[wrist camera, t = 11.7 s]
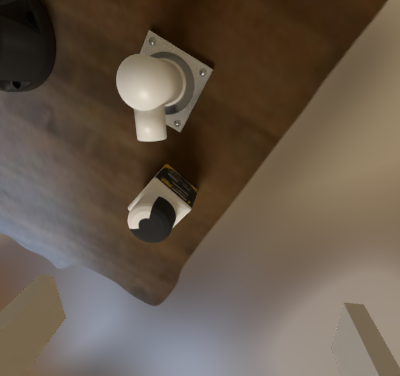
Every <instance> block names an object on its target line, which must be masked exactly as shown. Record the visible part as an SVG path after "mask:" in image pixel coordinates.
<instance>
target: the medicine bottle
mask: <svg viewBox="0 0 400 376" xmlns="http://www.w3.org/2000/svg"><path fill="white" fill-rule="evenodd" d="M197 192H198V191H197V189H196V188H194V187H193V186H192V185H191V184H190V183H189V182H188V181H186V180H185V179H184V178H183V177H182V176H181V175H180V174H178V173H177V172H176V171H175V170H174V169H173V168H172V167H170V166H169V165H168V164H165V165H164V166H163V167H162V169H161V170H160V171H159V172H158V173H157V174H156V175H155V177H154V178H153V179H152V180H151V181H150V182H149V183H148V185H147V186H146V187H145V188H144V189H143V190H142V191H141V193H140V194H139V195H138V196H137V197H136V198H135V199H134V201H133V202H132V203H131V204H130V205H129V206H128V210H129V211H130V212H129V215H128V225H129V228H130V230H131V231H132V233H133V234H134V235H135V236H136V237H137V238H139V239H140V240H142V241H145V242H149V243H157V242H161V241H163V240H165V239H166V238H167V237H168V236H169V234H170V232H171V230H172V228H173V227H174V226H175V225H176V224H177V223H178V222H179V221H180V220H181V219H182V218H183V217H184V216H185V215H186V214H187V213H188V212H189V211H190V210H191V209H192V206H193V203H194V200H195V198H196V195H197Z"/></svg>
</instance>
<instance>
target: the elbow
mask: <svg viewBox="0 0 400 376" xmlns="http://www.w3.org/2000/svg"><path fill="white" fill-rule="evenodd" d="M116 83H117V88H118V91H119V94H120V96H121V97H122V99H123V100H124V101H125V102H126V103H127V104H128V105H129V106H131V107H132V108H134V114H135V123H136V132H137V140H139V141H160V140H164V139H166V138H167V134H166V118H165V106H171V105H173V104H176V103H177V102H179V101H180V100H181V99H182V97H183V96H184V94H185V91H186V87H187V80H186V76H185V73H184V71H183V69H182V68H181V67H180V66H179V65H178V64H177V63H176V62H174V61H172V60H169V59H165V58H160V59H158V58H154V57H151V56H147V55H144V54H135V55H131V56H129V57H128V58H126V59H125V60H124V61H123V62H122V63H121V65H120V66H119V69H118V71H117V76H116Z"/></svg>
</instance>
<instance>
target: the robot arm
mask: <svg viewBox="0 0 400 376" xmlns="http://www.w3.org/2000/svg"><path fill="white" fill-rule="evenodd" d="M54 60H55V39H54V33H53V29H52V26H51V23H50V21H49V18H48V16H47V14H46V12H45V10H44V8H43V7H42V5H41V3H40V2H39V1H38V0H0V90H1V91H6V92H23V91H30V90H33V89H35V88H37V87H39V86H40V85H41V84H43V83H44V82H45V80H46V79H47V78H48V76H49V75H50V73H51V71H52V68H53V65H54ZM65 318H66V317H65V313H64V310H63V307H62V304H61V300H60V297H59V293H58V290H57V287H56V283H55V280H54V277H53V276H45V275H38V276H37V277H36V278H35V279H34V280H33V281H32V282H31V283H30V284H29V285H28V286H27V287H26V288H25V289H24V290H23V291H22V292H21V293H20V294H19V295H18V296H17V297H16V298H15V299H13V300H12V301H11V303H9V304H8V305H7V306H6V307H5V308H4V309H3V310H2V311H1V312H0V376H24V374H25V373H26V372H27V370H28V369H29V368H30V366H31V365H32V363H33V362H34V361H35V359H36V358H37V357H38V355H39V354H40V352H41V351H42V350H43V348H44V347H45V346H46V344H47V343H48V342H49V340H50V339H51V337H52V336H53V335H54V333H55V332H56V331H57V329H58V328H59V326H60V325H61V324H62V322H63V321H64V319H65ZM332 351H333V354H334V357H335V360H336V363H337V365H338V368H339V371H340V374H341V376H400V368H399V366H398V364H397V362H396V361H395V359H394V357H393V356H392V354H391V352H390V350H389V348H388V347H387V345H386V343H385V341H384V340H383V338H382V336H381V334H380V333H379V331H378V329H377V327H376V326H375V324H374V322H373V320H372V319H371V317H370V315H369V313H368V311H367V310H366V308H365V306H364V305H362V304H351V303H344V304H343V308H342V311H341V315H340V318H339V322H338V326H337V329H336V333H335V337H334V340H333V344H332Z"/></svg>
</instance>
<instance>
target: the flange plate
mask: <svg viewBox="0 0 400 376" xmlns="http://www.w3.org/2000/svg"><path fill="white" fill-rule="evenodd" d="M140 54H144V55H147V56H151V57H154V58H158V59H160V58H165V59H169V60H172V61H174V62H176V63H177V64H178V65H179V66H180V67H181V68H182V69H183V71H184V73H185V76H186V80H187V87H186V91H185V94H184V96H183V97H182V99H181V100H180V101H179V102H177V103H176V104H173V105H171V106H165V118H166V124H167V125H168V126H170V127H172V128H173V129H175V130H177V131H178V132H181V131H182V129H183V127H184V125H185V123H186V121H187V119H188V117H189V116H190V114H191V112H192V110H193V108H194V106H195V104H196V102H197V100H198V98H199V96H200V95H201V93H202V91H203V89H204V87H205V85H206V83H207V81H208V79H209V77H210V75H211V74H212V72H213V69H211V68H210V67H208V66H206V65H205V64H203V63H202V62H200V61H198V60H197V59H195V58H193V57H192V56H190V55H189V54H187V53H185V52H184V51H182V50H181V49H179V48H177V47H176V46H174V45H173V44H171V43H169V42H168V41H166V40H164V39H163V38H161V37H160V36H158V35H156V34H155V33H153V32H152V31H150V30H149V31H148V34H147V36H146V39H145V41H144V44H143V46H142V49H141V52H140Z"/></svg>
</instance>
